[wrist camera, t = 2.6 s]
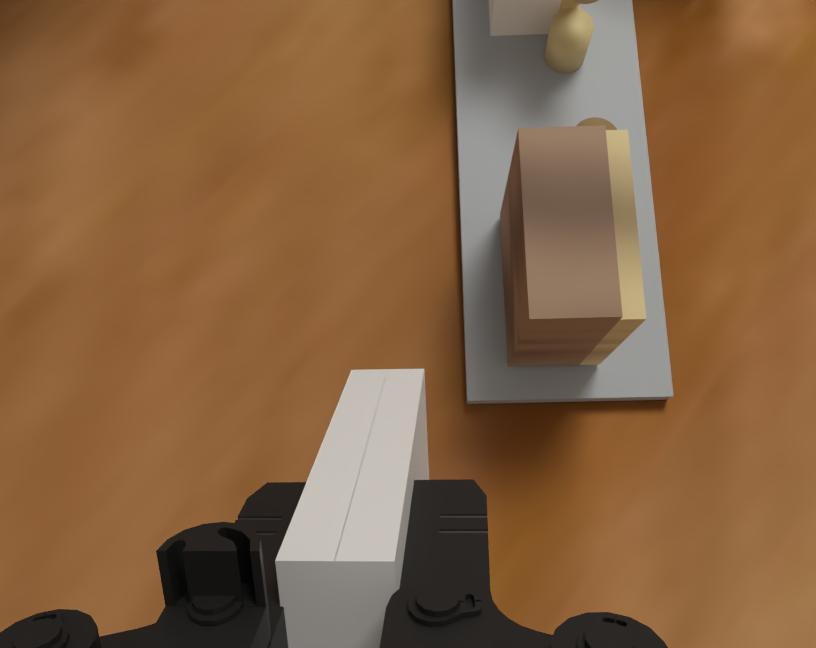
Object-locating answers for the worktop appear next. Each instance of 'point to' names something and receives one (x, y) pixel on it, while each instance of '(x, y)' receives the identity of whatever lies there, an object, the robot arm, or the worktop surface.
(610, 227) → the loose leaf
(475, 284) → the hinge jig
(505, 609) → the worktop surface
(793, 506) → the worktop surface
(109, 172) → the worktop surface
